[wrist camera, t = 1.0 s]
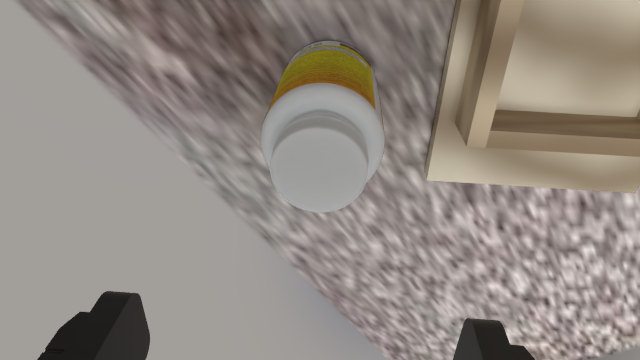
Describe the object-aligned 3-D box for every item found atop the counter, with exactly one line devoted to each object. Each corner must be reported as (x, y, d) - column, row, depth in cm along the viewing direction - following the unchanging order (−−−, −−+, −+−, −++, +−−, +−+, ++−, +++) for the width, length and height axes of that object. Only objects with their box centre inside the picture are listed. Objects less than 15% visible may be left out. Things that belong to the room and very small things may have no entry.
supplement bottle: (268, 56, 25) (225, 131, 17) (360, 24, 24) (366, 87, 15) (302, 139, 28) (280, 241, 19) (387, 113, 27) (404, 211, 18)
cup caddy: (495, -210, 19) (527, -237, 15) (810, -200, 18) (914, -225, 15) (424, 172, 29) (434, 207, 25) (626, 184, 28) (664, 222, 25)
